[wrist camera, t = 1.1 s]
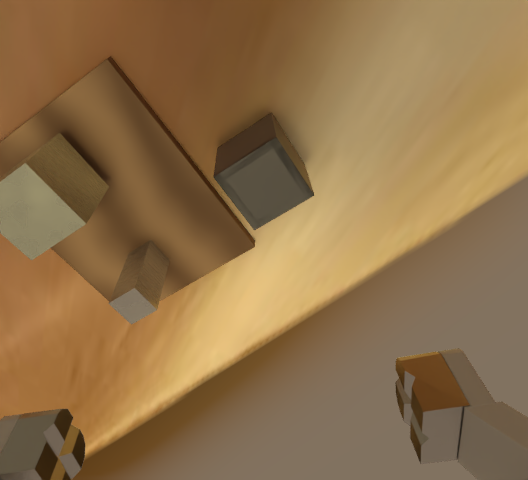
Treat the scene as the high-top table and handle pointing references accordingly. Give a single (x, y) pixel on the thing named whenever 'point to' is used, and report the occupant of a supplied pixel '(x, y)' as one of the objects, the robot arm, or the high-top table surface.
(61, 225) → the pale green block
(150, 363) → the high-top table surface
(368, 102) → the high-top table surface
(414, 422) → the robot arm
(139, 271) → the steel post
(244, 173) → the dark grey paneled cube
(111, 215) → the walnut board
